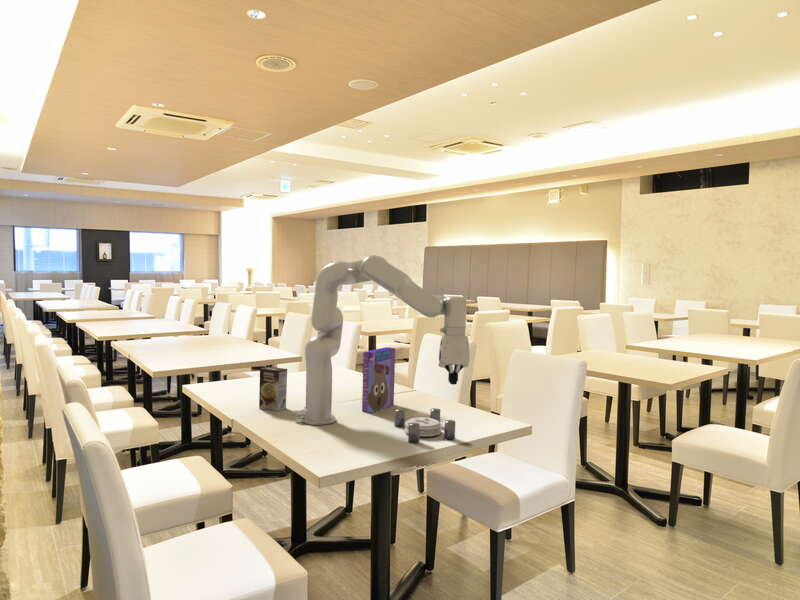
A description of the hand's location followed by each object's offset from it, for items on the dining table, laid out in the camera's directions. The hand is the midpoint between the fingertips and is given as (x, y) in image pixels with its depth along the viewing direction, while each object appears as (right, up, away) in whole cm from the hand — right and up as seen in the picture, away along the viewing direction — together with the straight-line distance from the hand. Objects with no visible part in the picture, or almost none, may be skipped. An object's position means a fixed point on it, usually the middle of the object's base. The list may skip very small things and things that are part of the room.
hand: (453, 383), depth 194 cm
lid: (-11, -17, -2) cm, 20 cm away
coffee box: (-69, -14, +27) cm, 76 cm away
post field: (-10, -17, -2) cm, 20 cm away
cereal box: (-28, -15, +32) cm, 45 cm away
